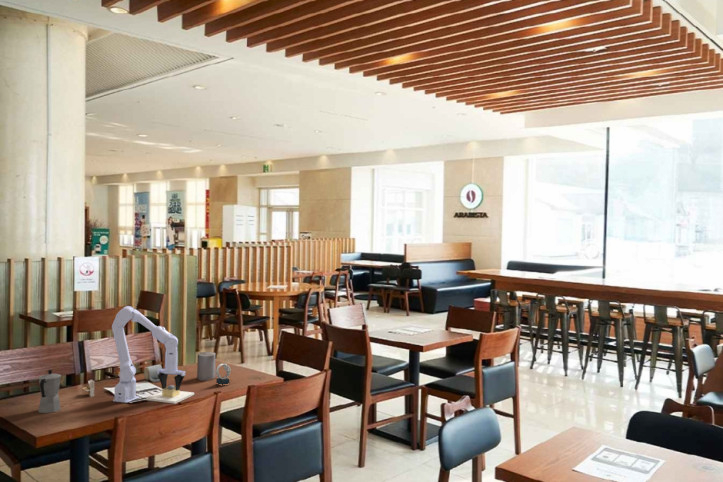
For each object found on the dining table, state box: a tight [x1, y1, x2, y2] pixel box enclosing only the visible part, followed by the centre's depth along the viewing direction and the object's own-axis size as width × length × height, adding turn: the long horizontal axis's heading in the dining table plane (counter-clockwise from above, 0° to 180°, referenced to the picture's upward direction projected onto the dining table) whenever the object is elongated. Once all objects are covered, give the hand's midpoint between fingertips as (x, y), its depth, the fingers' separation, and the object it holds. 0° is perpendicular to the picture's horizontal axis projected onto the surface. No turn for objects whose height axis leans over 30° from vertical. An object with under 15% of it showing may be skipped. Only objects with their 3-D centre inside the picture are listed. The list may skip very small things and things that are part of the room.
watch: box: [215, 363, 232, 385], centre depth 308 cm, size 6×8×11 cm
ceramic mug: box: [143, 364, 163, 383], centre depth 314 cm, size 11×8×8 cm
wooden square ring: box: [161, 386, 181, 397], centre depth 282 cm, size 6×6×4 cm
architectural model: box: [82, 379, 95, 398], centre depth 283 cm, size 3×7×7 cm, turn 43°
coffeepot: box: [38, 369, 62, 414], centre depth 258 cm, size 15×9×18 cm, turn 6°
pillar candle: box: [196, 351, 217, 381], centre depth 320 cm, size 10×10×15 cm
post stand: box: [145, 384, 195, 404], centre depth 282 cm, size 16×16×6 cm
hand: (170, 389), depth 282 cm, fingers open, 7 cm apart
